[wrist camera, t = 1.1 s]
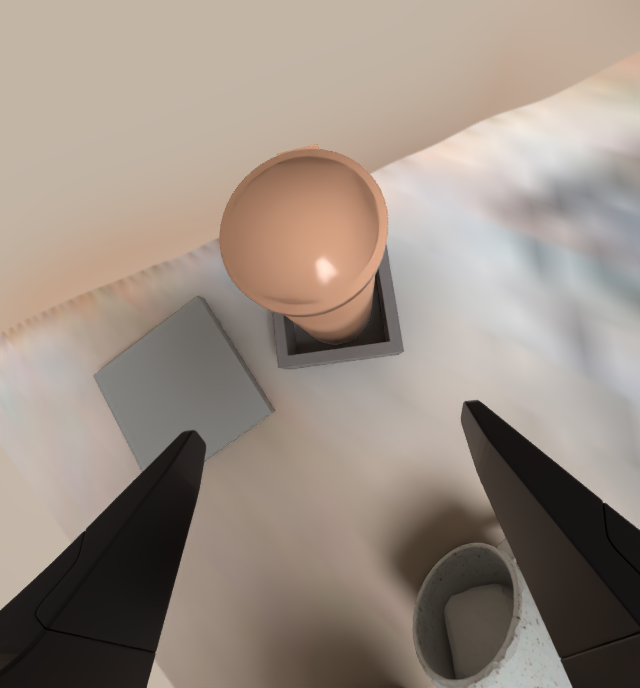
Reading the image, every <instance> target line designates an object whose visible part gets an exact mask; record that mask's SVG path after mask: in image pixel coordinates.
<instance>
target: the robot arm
mask: <svg viewBox="0 0 640 688" xmlns="http://www.w3.org/2000/svg"><path fill="white" fill-rule="evenodd" d="M461 423H462V427H463V430H464V433H465V436H466V440H467V443H468V446H469V449H470V452H471V455H472V459H473V462H474V465H475V468H476V471H477V473H478V476H479V478H480V481H481V483H482V485H483V487H484V490H485V492H486V494H487V496H488V499H489V501H490V503H491V505H492V508H493V510H494V512H495V514H496V517H497V519H498V521H499V523H500V526H501V528H502V530H503V532H504V535H505V537H506V539H507V541H508V544H509V546H510V548H511V550H512V553H513V555H514V557H515V559H516V562H517V564H518V566H519V568H520V571H521V573H522V575H523V577H524V580H525V582H526V584H527V586H528V589H529V591H530V593H531V595H532V598H533V600H534V602H535V604H536V607H537V609H538V611H539V613H540V616H541V618H542V620H543V622H544V624H545V627H546V629H547V631H548V633H549V636H550V638H551V640H552V642H553V645H554V647H555V649H556V651H557V654H558V656H559V658H561V659H560V661H561V663H562V665H563V668H564V670H565V672H566V674H567V677H568V679H569V681H570V683H571V686H572V688H640V530H639V529H638V528H636V527H635V526H634V525H633V524H631V523H630V522H629V521H628V520H626V519H625V518H624V517H622V516H621V515H620V514H619V513H618V512H616V511H615V510H614V509H613V508H611V507H610V506H609V505H608V504H606V503H603V501H602V500H601V499H600V498H599V497H598V496H596V495H595V494H594V493H593V492H591V491H590V490H589V489H588V488H587V487H585V486H584V485H583V484H582V483H580V482H579V481H578V480H577V479H575V478H574V477H573V476H572V475H570V474H569V473H568V472H567V471H566V470H564V469H563V468H562V467H561V466H559V465H558V464H557V463H556V462H554V461H553V460H552V459H551V458H550V457H548V456H547V455H546V454H545V453H543V452H542V451H541V450H540V449H538V448H537V447H536V446H535V445H534V444H532V443H531V442H530V441H529V440H527V439H526V438H525V437H524V436H522V435H521V434H520V433H519V432H517V431H516V430H515V429H514V428H513V427H511V426H510V425H509V424H508V423H506V422H505V421H504V420H503V419H501V418H500V417H499V416H498V415H497V414H495V413H494V412H493V411H492V410H490V409H489V408H488V407H487V406H485V405H484V404H483V403H482V402H480V401H478V400H471V401H465V402H464V403H463V408H462V414H461ZM205 454H206V443H205V441H204V440H203V439H202V437H201V436H200V435H199V434H198V432H197V431H196V430H187V431H183V432H182V433H181V434H180V435H179V436H178V437H177V438H176V439H175V440H174V441H173V442H172V443H171V444H170V445H169V446H168V447H167V448H166V449H165V450H164V451H163V452H162V453H161V454H160V455H159V456H158V457H157V458H156V459H155V460H154V461H153V462H152V463H151V464H150V465H149V466H148V467H147V468H146V469H145V470H144V471H143V472H142V473H141V474H140V475H139V476H138V477H137V478H136V479H135V480H134V481H133V482H132V483H131V484H130V485H129V486H128V487H127V488H126V489H125V490H124V491H123V492H122V493H121V494H120V495H119V496H118V497H117V498H116V499H115V500H114V501H113V502H112V503H111V504H110V505H109V506H108V507H107V508H106V509H105V510H104V511H103V512H102V513H101V514H100V515H99V516H98V517H97V518H96V519H95V520H94V521H93V522H92V523H91V524H90V525H89V526H88V527H87V529H86V531H84V532H82V533H81V534H80V535H79V536H78V537H77V538H76V539H75V540H74V542H73V543H72V544H71V545H69V546H68V547H67V548H66V549H65V550H64V551H63V552H62V554H60V555H59V556H58V557H57V558H56V559H55V560H54V561H53V562H52V563H51V564H50V565H49V566H48V567H47V568H46V569H45V570H44V571H43V572H42V573H40V574H39V575H38V576H37V577H36V578H35V579H34V580H33V581H32V582H31V583H30V584H29V585H28V586H27V587H25V588H24V589H23V590H22V591H21V592H20V593H19V594H18V595H17V596H16V597H14V598H13V599H12V600H11V601H10V602H9V603H8V604H7V605H6V606H5V607H3V608H2V609H1V610H0V688H147V684H148V680H149V676H150V673H151V669H152V665H153V662H154V658H155V654H156V653H155V652H156V650H157V646H158V642H159V639H160V635H161V631H162V628H163V624H164V620H165V616H166V613H167V609H168V605H169V602H170V598H171V594H172V591H173V587H174V583H175V579H176V576H177V572H178V568H179V565H180V561H181V557H182V553H183V550H184V546H185V542H186V539H187V535H188V531H189V528H190V524H191V520H192V516H193V513H194V509H195V505H196V502H197V498H198V494H199V489H200V484H201V478H202V472H203V466H204V460H205Z"/></svg>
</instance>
